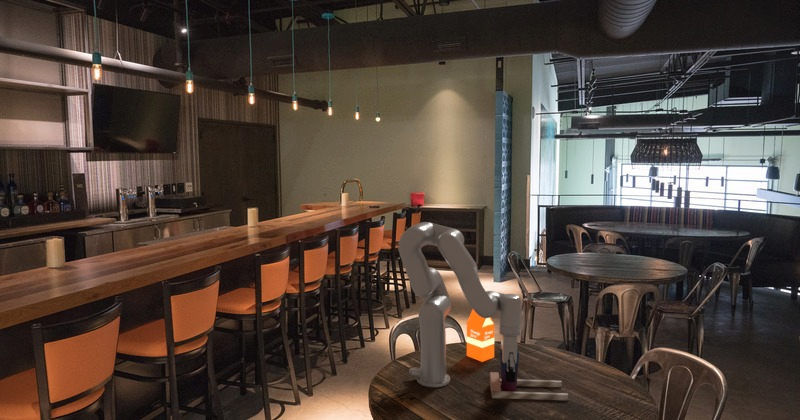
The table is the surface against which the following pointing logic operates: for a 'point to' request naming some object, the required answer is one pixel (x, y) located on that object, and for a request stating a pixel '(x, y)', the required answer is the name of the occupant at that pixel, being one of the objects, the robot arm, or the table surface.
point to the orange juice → (480, 337)
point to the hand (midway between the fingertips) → (509, 377)
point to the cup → (505, 385)
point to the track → (497, 393)
